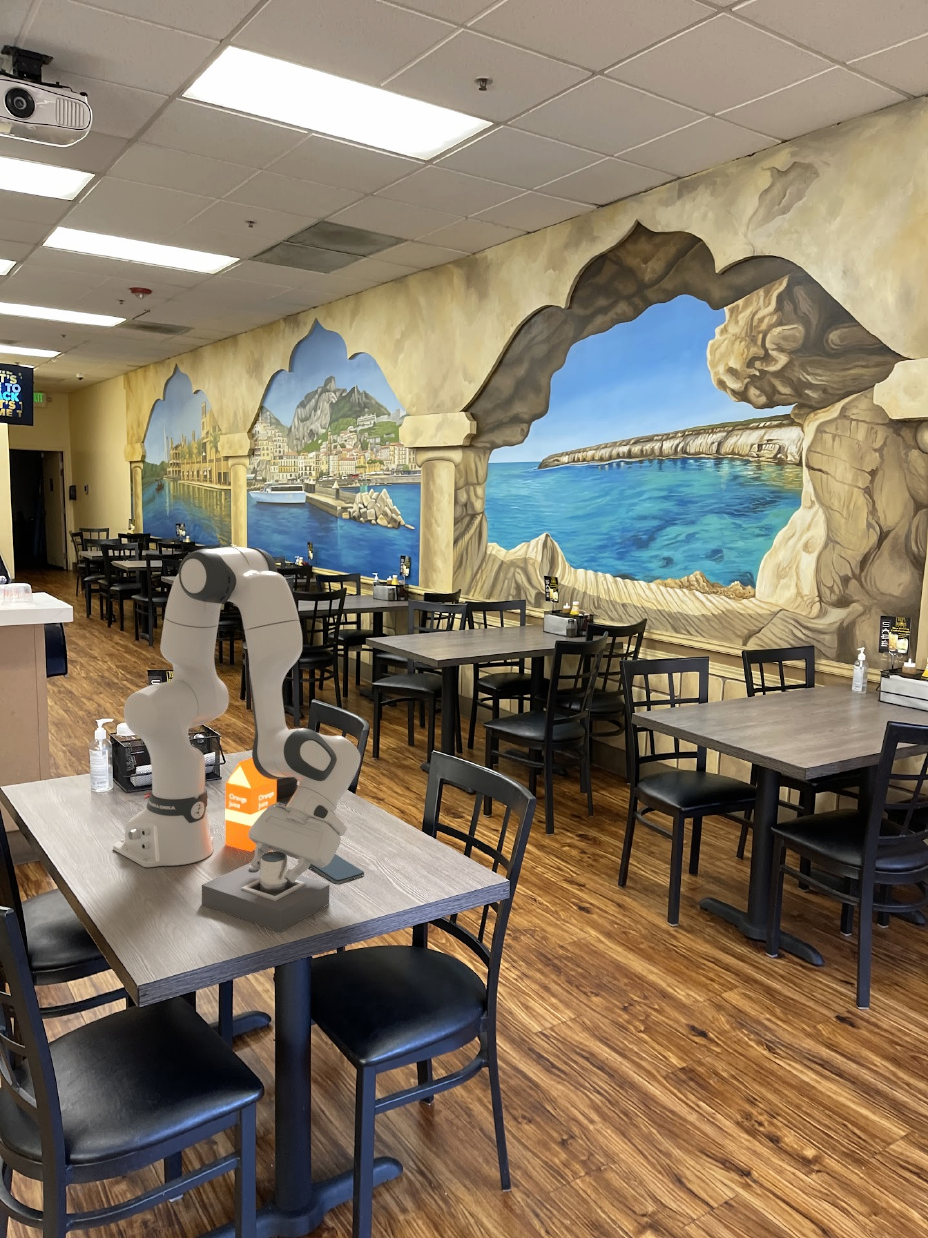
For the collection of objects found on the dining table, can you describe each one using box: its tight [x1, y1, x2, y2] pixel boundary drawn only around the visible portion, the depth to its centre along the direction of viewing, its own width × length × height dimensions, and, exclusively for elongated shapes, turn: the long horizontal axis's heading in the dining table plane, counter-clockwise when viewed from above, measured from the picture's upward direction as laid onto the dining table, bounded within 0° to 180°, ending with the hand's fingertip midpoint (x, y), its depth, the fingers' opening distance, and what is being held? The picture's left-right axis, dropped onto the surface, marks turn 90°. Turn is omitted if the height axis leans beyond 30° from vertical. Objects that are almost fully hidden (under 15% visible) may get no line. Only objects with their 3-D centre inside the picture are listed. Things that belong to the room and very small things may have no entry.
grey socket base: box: [201, 862, 330, 933], centre depth 167 cm, size 20×14×5 cm
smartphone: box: [308, 853, 365, 884], centre depth 186 cm, size 8×2×15 cm
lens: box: [260, 851, 288, 896], centre depth 166 cm, size 5×5×10 cm
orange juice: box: [224, 757, 277, 853], centre depth 198 cm, size 8×9×20 cm
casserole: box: [276, 777, 299, 805], centre depth 229 cm, size 25×19×8 cm
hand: (271, 874), depth 165 cm, fingers open, 8 cm apart
